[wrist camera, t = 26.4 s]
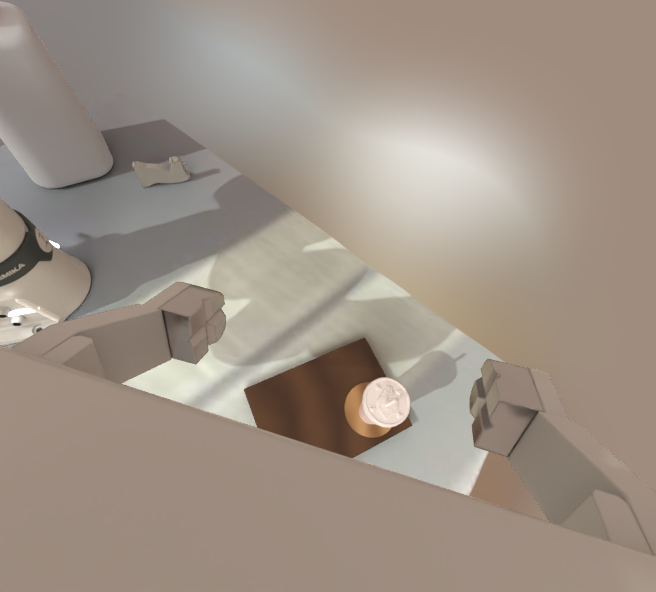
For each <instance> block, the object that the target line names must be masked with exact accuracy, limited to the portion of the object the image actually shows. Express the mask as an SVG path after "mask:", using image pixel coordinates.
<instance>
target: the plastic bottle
mask: <svg viewBox="0 0 656 592" xmlns="http://www.w3.org/2000/svg"><path fill="white" fill-rule="evenodd" d="M0 138H1V139H2V141H3V142H4V143H5V145H6V146H7V147H8V149H9V150H10V151H11V153H12V154H13V155H14V157H15V158H16V159H17V161H18V162H19V163H20V165H21V166H22V167H23V169H24V170H25V171H26V173H27V174H28V175H29V177H30V178H31V179H32V180H33V181H34V182H35V183H36V184H37V185H39V186H42V187H45V188H52V189H54V188H61V187H65V186H69V185H72V184H76V183H80V182H83V181H87V180H91V179H94V178H98V177H101V176H103V175H105V174H106V173H108V172H109V171H110V170H111V168H112V166H113V157H112V155H111V153H110V151H109V148H108V146H107V144H106V142H105V140H104V137H103V135H102V134H101V132H100V131H99V129H98V128H97V126H96V124H95V123H94V121H93V120H92V118H91V117H90V115H89V113H88V112H87V110H86V109H85V107H84V106H83V104H82V103H81V101H80V99H79V98H78V96H77V95H76V93H75V92H74V90H73V89H72V87H71V85H70V84H69V82H68V81H67V79H66V78H65V76H64V74H63V73H62V71H61V70H60V68H59V67H58V65H57V63H56V62H55V60H54V59H53V57H52V56H51V54H50V53H49V51H48V49H47V48H46V46H45V45H44V43H43V42H42V40H41V38H40V37H39V35H38V34H37V32H36V31H35V29H34V28H33V26H32V25H31V23H30V21H29V20H28V18H27V17H26V15H25V14H24V12H23V11H22V10H21V9H20V8H18V7H17V6H15V5H13V4H10V3H7V2H0Z"/></svg>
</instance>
